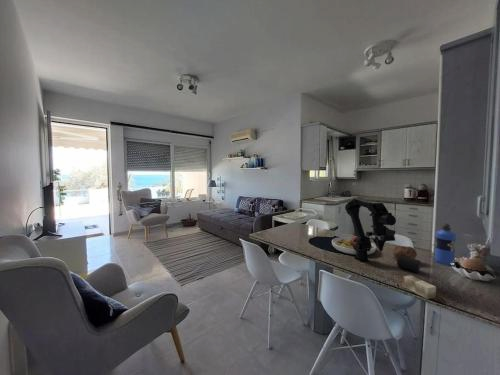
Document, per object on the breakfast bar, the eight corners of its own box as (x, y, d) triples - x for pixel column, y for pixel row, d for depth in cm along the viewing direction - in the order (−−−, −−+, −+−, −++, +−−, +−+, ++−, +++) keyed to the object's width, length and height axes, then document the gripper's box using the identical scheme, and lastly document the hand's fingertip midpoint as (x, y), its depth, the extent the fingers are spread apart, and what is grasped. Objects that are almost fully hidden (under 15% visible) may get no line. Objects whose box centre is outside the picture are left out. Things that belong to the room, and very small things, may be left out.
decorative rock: (415, 259, 135) (416, 245, 135) (417, 266, 126) (418, 250, 125) (391, 255, 143) (391, 241, 142) (391, 261, 133) (392, 246, 133)
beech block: (402, 276, 104) (427, 288, 92) (410, 274, 105) (436, 286, 93) (402, 285, 104) (427, 299, 93) (409, 284, 105) (435, 297, 94)
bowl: (373, 260, 135) (373, 249, 135) (326, 251, 153) (326, 240, 153) (378, 247, 159) (378, 237, 159) (337, 240, 177) (337, 231, 177)
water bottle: (431, 260, 134) (432, 222, 132) (439, 258, 137) (441, 221, 136) (449, 266, 125) (451, 226, 124) (458, 264, 128) (460, 224, 127)
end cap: (396, 268, 123) (397, 257, 123) (400, 265, 127) (401, 254, 127) (417, 275, 115) (418, 263, 115) (421, 271, 119) (421, 259, 119)
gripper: (403, 224, 111) (406, 254, 110) (382, 221, 130) (384, 247, 129) (382, 225, 112) (385, 255, 110) (364, 222, 130) (366, 247, 129)
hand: (380, 250), depth 120 cm, fingers closed
